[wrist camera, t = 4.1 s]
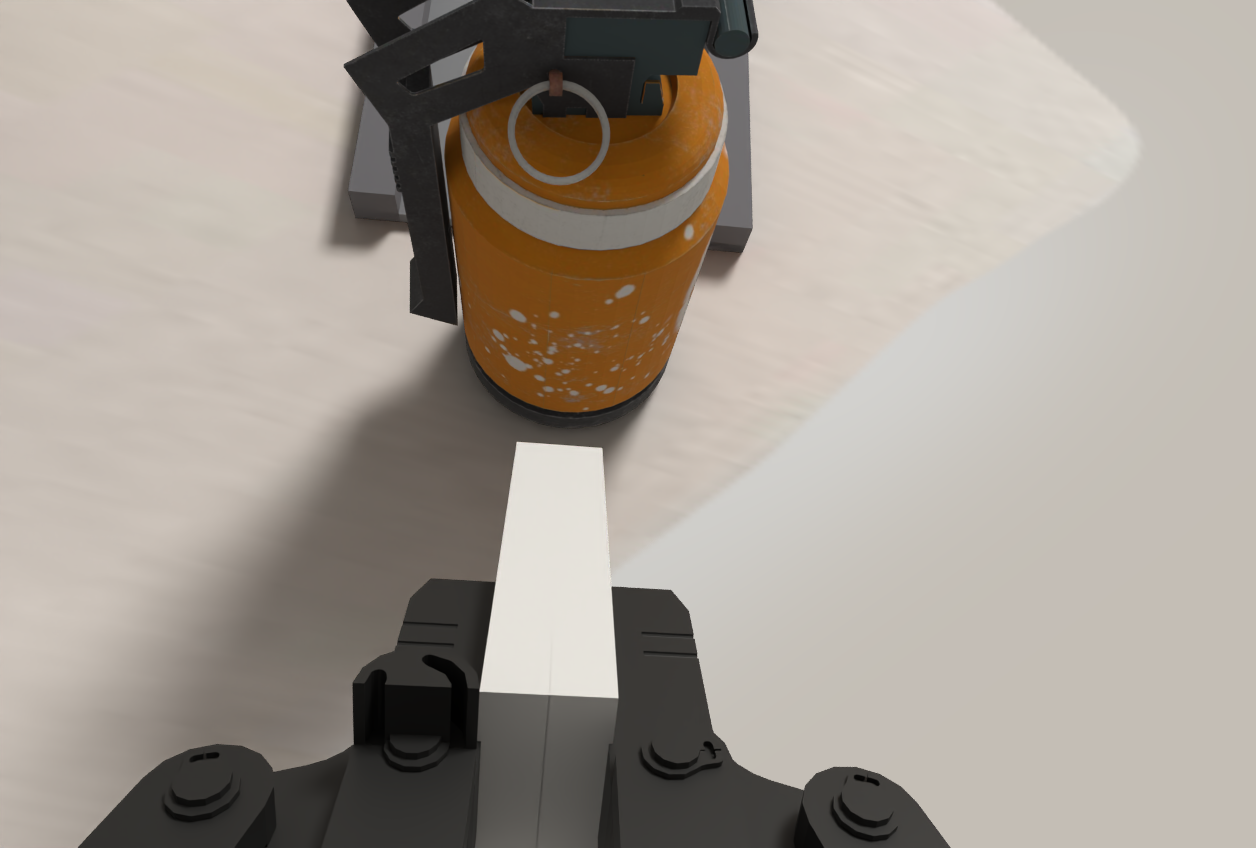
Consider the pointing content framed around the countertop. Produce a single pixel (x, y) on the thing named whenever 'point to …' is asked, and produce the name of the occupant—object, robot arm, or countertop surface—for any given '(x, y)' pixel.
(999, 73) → the countertop surface
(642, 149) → the canister
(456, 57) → the tray
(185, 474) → the countertop surface
